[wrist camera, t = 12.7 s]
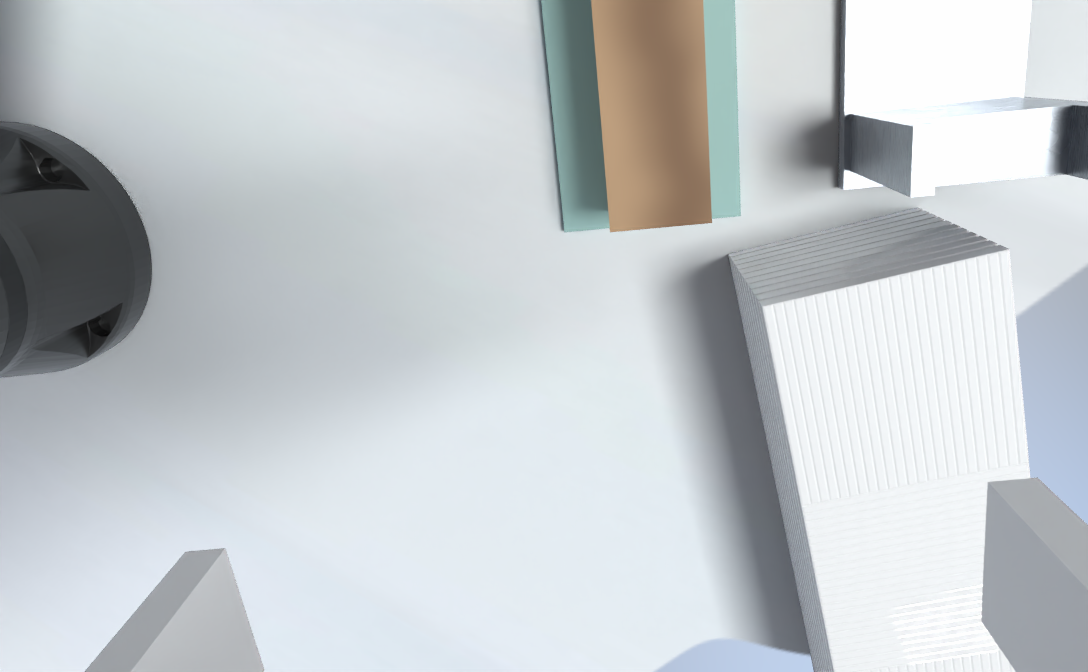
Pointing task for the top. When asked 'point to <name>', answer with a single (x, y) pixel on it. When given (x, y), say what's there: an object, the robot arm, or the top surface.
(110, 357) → the top surface
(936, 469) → the stack of papers
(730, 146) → the mat
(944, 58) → the standards
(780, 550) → the top surface
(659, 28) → the rail
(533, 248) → the top surface
